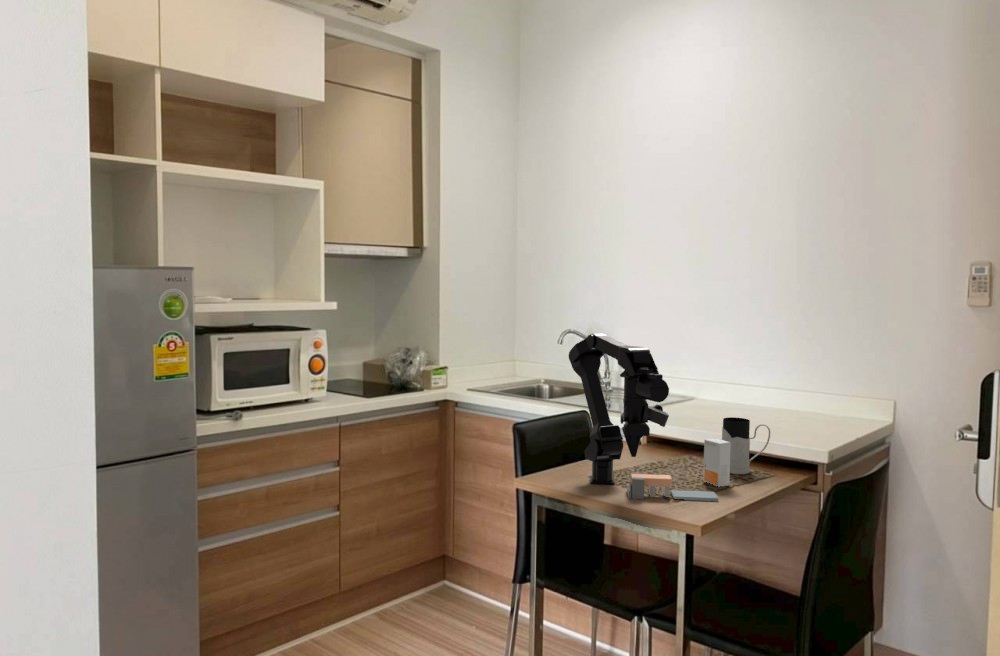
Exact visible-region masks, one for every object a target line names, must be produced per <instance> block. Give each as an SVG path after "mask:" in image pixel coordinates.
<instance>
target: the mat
mask: <svg viewBox="0 0 1000 656" xmlns="http://www.w3.org/2000/svg"><path fill="white" fill-rule="evenodd" d="M671 493H672V494H671ZM670 494H671V497H672V496H673V497H672V499H673V498H674V499H684V500H683V501H698V502H699V501H700V502H701V501H702V502H703V501H705V502H719V496H718V495H717V494H716V492H715V491H707V490H706V491H705V490H704V491H703V490H702V491H701V490H673V489H671V490H670ZM674 499H673V500H674Z"/></svg>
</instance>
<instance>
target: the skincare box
mask: <svg viewBox="0 0 1000 656" xmlns="http://www.w3.org/2000/svg"><path fill="white" fill-rule="evenodd" d="M703 446H704V447H703V471H702V473H703V474H702V475H703V476H702V477H703V479H702V482H703V483H706V482H707V483H706V484H709V483H710V485H712V484H713V486H715V487H717V486H718V488H721V487H720V486H722V487H727V486H730V476H731V473H730V447H731V442H728V441H724V440H722V439H719V438H717V437H716V438H706V439H704V442H703Z"/></svg>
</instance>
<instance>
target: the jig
mask: <svg viewBox="0 0 1000 656" xmlns="http://www.w3.org/2000/svg"><path fill="white" fill-rule="evenodd" d="M631 474H643V472H637V471H636V472H630V475H629V478H630V482H629V483H628V482H627V483H626V492H627V497H628V499H630V500H631V499H634V500H645V486H644V478H632V484H631ZM670 489H671V487H663V493H664V495H663V497H664V496H665V497H670V494H671V490H670ZM648 495H650V496H649V497H650V498H655V496H656V486H648ZM665 497H664V498H665Z"/></svg>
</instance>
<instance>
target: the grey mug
mask: <svg viewBox="0 0 1000 656" xmlns="http://www.w3.org/2000/svg"><path fill="white" fill-rule="evenodd" d="M750 423H751V420H750V419H749V418H744V417H735V416H734V417H724V418H723V419H722V427H721V440H724V441H728V442H731V447H730V474H733V475H735V474H736V475H745V474H749V473H751V468H750V465H751V462H752V461H753V460H754V459H755V458H756V457H758V456H760V454H761V453H763V452H764V451H765V450H766V448H767V447H768V444H769V443H770V438H771V429H770V427H769V426H768V425H767V424H764V423H763V424H758V425H756V427H755V429H754V435H753V436H752V437H750V428H751V427H750V426H751V424H750ZM762 426H764V427H766V428H767V429H768V437H767V441H766V443H765V445H764V446H763V448H762V449H761V450H760V451H759V452H758V453H756V454H754V456H752V457H751V458H750V444H751V440H754V439H755V438H756V436H757V430H758V428H760V427H762Z"/></svg>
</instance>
